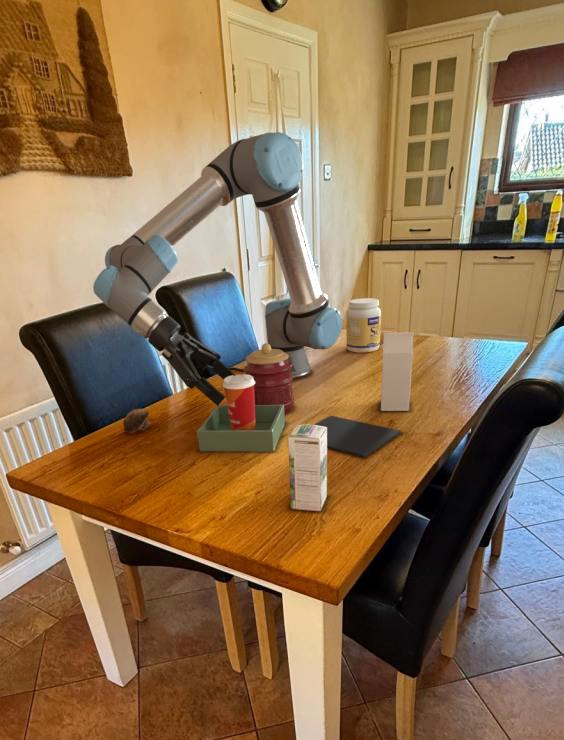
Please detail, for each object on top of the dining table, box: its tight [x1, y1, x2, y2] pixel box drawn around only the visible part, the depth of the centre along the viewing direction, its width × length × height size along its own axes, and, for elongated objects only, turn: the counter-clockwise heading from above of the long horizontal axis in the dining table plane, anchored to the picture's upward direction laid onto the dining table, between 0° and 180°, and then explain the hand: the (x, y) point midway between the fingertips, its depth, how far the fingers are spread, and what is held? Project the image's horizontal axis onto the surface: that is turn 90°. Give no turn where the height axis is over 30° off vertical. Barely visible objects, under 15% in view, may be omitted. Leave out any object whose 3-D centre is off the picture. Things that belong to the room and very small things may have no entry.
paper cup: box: [222, 373, 256, 430], centre depth 122 cm, size 8×8×14 cm
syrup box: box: [287, 424, 328, 512], centre depth 92 cm, size 6×6×14 cm
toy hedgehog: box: [122, 408, 153, 434], centre depth 133 cm, size 8×8×6 cm
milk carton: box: [380, 331, 414, 412], centre depth 131 cm, size 7×7×19 cm
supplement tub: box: [345, 297, 382, 354], centre depth 185 cm, size 12×12×17 cm
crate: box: [196, 404, 286, 453], centre depth 125 cm, size 18×18×5 cm
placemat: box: [313, 415, 401, 459], centre depth 122 cm, size 20×16×1 cm
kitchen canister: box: [242, 342, 295, 414], centre depth 137 cm, size 13×13×18 cm
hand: (229, 391), depth 121 cm, fingers open, 13 cm apart
